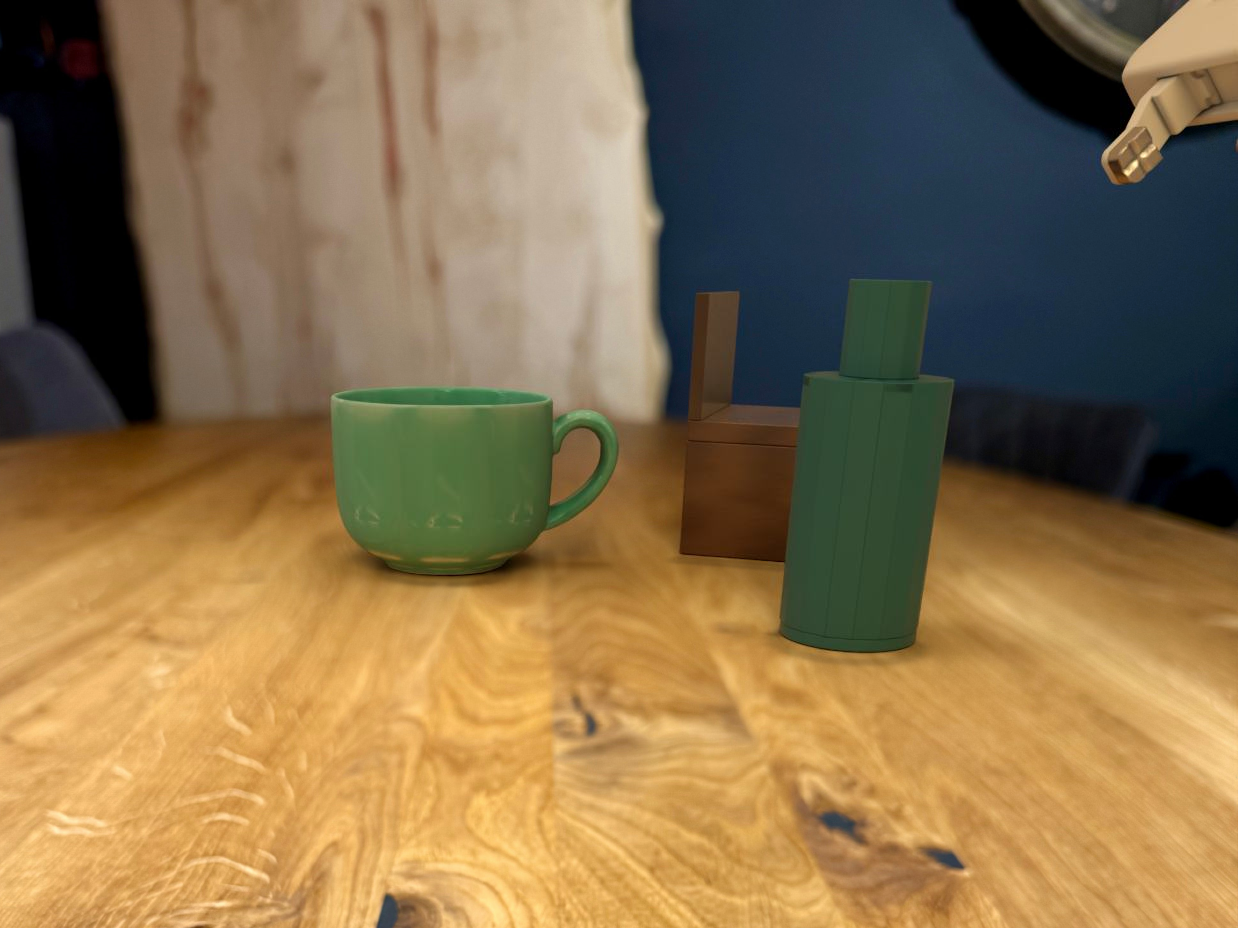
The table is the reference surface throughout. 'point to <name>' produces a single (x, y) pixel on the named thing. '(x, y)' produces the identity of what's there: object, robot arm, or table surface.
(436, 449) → the mug
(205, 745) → the table surface
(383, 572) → the table surface
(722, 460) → the wooden toy chair
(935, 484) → the bottle
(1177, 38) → the robot arm
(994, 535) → the table surface
